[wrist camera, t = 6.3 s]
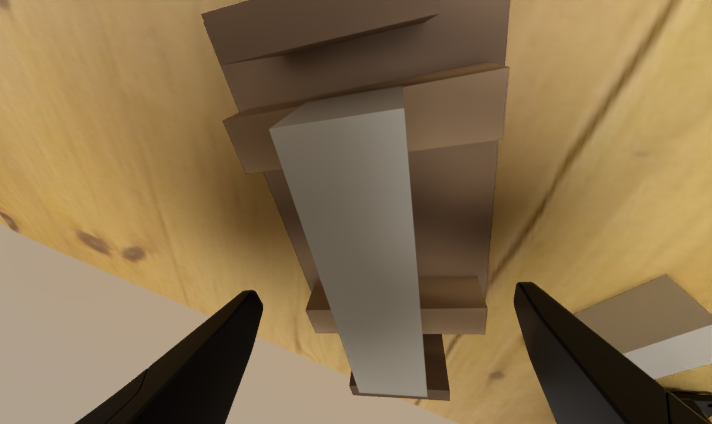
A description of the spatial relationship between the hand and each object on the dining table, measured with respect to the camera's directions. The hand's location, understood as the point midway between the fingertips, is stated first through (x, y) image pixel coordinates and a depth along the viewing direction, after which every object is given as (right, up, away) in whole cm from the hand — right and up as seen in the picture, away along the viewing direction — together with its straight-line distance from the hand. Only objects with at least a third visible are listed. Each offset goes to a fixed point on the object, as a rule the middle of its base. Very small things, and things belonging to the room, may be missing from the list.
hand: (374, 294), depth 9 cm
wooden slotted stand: (+1, +3, +5) cm, 6 cm away
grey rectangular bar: (0, +1, +2) cm, 3 cm away
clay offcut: (+14, -5, +5) cm, 15 cm away
